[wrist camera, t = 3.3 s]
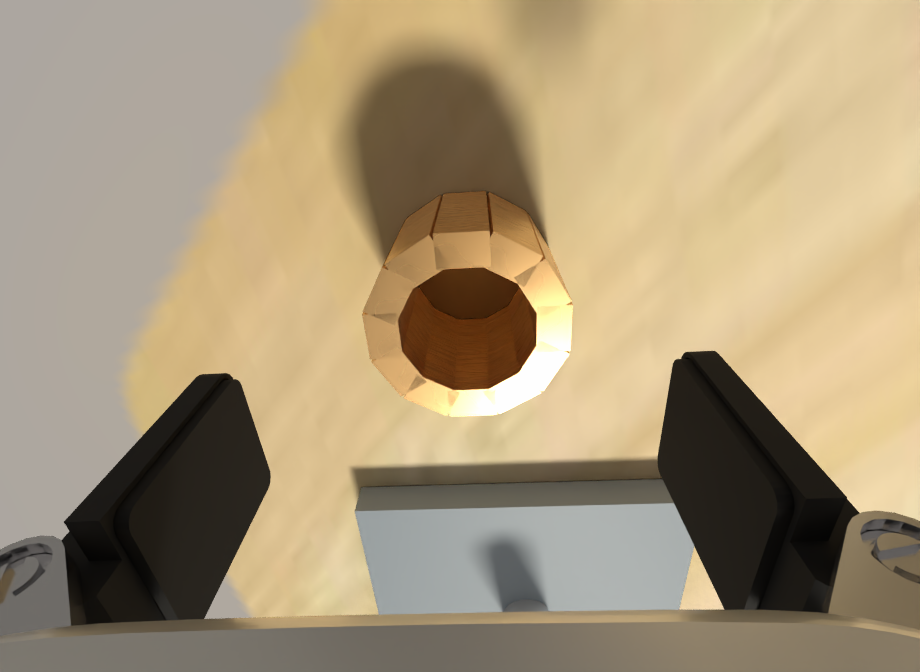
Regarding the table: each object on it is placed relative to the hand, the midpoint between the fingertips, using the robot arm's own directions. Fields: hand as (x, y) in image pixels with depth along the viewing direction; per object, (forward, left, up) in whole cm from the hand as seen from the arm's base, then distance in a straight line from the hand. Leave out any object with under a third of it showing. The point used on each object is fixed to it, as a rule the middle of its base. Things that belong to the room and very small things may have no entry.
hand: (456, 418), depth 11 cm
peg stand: (-2, +19, -9) cm, 21 cm away
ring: (0, 0, -9) cm, 9 cm away
